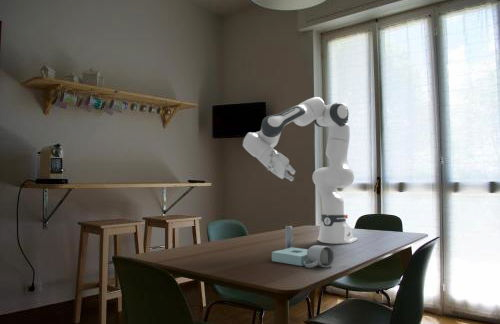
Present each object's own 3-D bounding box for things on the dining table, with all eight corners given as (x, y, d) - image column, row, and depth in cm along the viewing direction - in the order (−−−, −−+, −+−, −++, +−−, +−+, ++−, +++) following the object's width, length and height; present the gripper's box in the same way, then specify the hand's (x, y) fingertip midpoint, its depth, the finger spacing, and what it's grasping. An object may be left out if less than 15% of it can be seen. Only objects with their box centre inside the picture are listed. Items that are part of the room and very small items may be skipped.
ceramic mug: (319, 262, 150) (319, 242, 151) (335, 266, 144) (334, 245, 144) (298, 266, 145) (298, 245, 145) (313, 270, 138) (313, 248, 138)
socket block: (292, 255, 164) (292, 247, 164) (320, 259, 155) (320, 251, 155) (271, 260, 154) (271, 252, 154) (301, 265, 144) (301, 256, 145)
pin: (288, 253, 170) (288, 225, 170) (294, 254, 168) (293, 226, 168) (284, 254, 168) (284, 226, 168) (290, 255, 166) (289, 226, 166)
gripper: (275, 144, 171) (300, 163, 168) (274, 161, 190) (296, 178, 187) (266, 154, 170) (291, 174, 166) (266, 170, 189) (288, 188, 185)
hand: (293, 176), depth 177 cm, fingers open, 8 cm apart
